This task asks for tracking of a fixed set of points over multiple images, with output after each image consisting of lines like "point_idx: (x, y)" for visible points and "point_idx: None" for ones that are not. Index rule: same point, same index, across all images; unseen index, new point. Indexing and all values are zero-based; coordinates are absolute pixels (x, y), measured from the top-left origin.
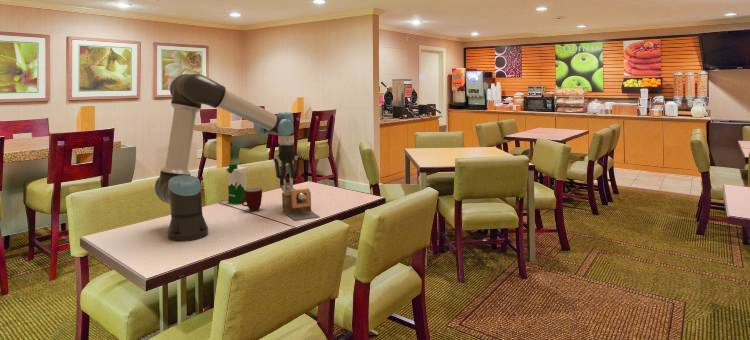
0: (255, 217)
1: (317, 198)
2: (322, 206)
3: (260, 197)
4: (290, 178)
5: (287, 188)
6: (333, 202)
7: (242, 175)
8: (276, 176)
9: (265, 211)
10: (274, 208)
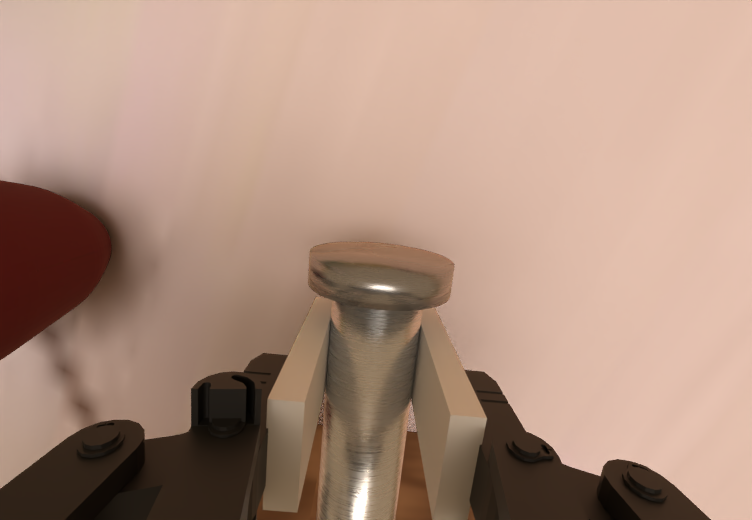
0: (48, 442)
1: (727, 169)
2: (585, 433)
3: (21, 344)
4: (439, 470)
5: (324, 457)
6: (730, 376)
7: None
8: (67, 448)
9: (152, 334)
10: (244, 288)
